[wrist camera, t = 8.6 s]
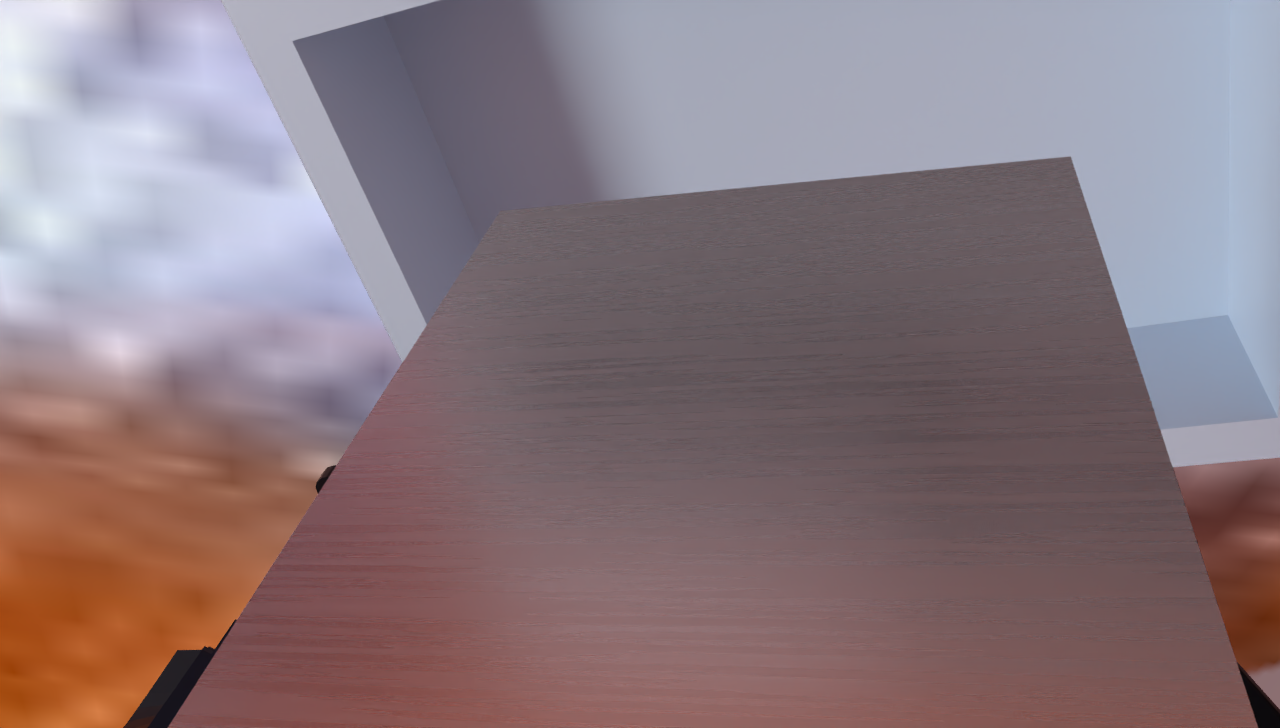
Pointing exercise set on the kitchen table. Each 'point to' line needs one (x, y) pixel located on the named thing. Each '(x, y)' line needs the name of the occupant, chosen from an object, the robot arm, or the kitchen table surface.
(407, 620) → the block
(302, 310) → the kitchen table surface
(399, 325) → the tote
